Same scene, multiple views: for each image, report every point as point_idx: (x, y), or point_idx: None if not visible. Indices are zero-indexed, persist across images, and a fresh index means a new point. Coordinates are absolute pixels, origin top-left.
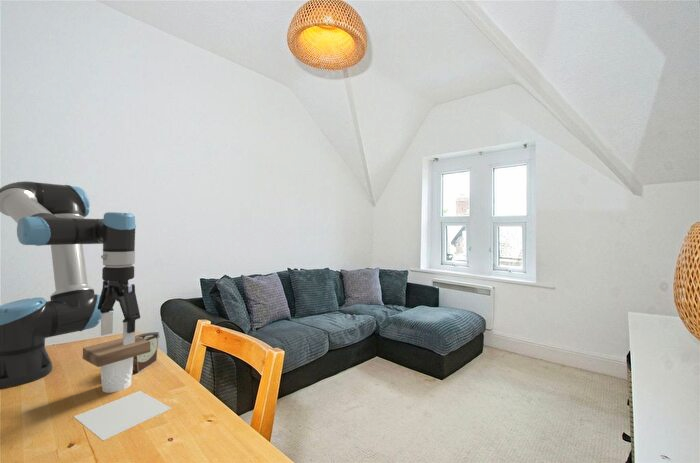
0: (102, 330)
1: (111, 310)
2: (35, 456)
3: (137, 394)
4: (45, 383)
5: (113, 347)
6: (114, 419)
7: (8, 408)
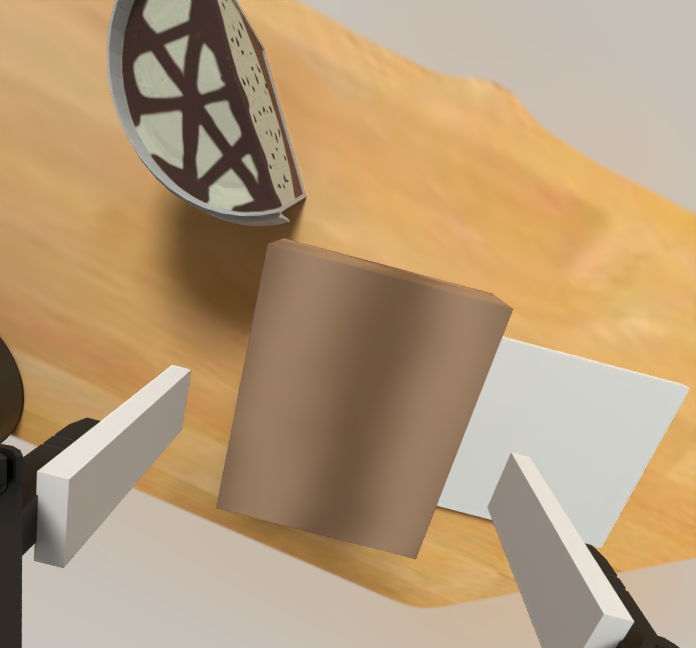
0: (162, 448)
1: (17, 478)
2: (479, 597)
3: None
4: (77, 377)
5: (369, 456)
6: (547, 480)
7: (175, 501)
